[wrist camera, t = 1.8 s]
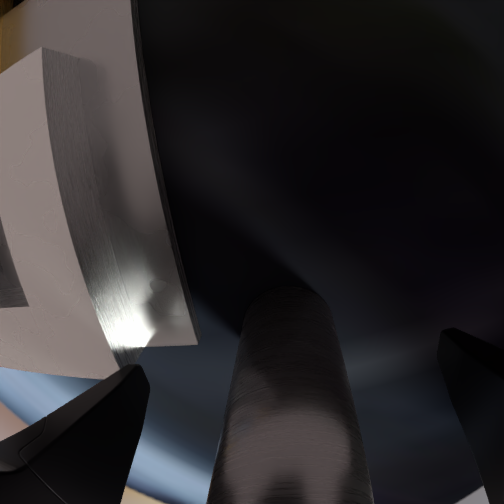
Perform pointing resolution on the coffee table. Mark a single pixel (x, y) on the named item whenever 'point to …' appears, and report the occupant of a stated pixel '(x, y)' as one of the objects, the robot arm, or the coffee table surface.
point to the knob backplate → (82, 195)
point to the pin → (290, 411)
